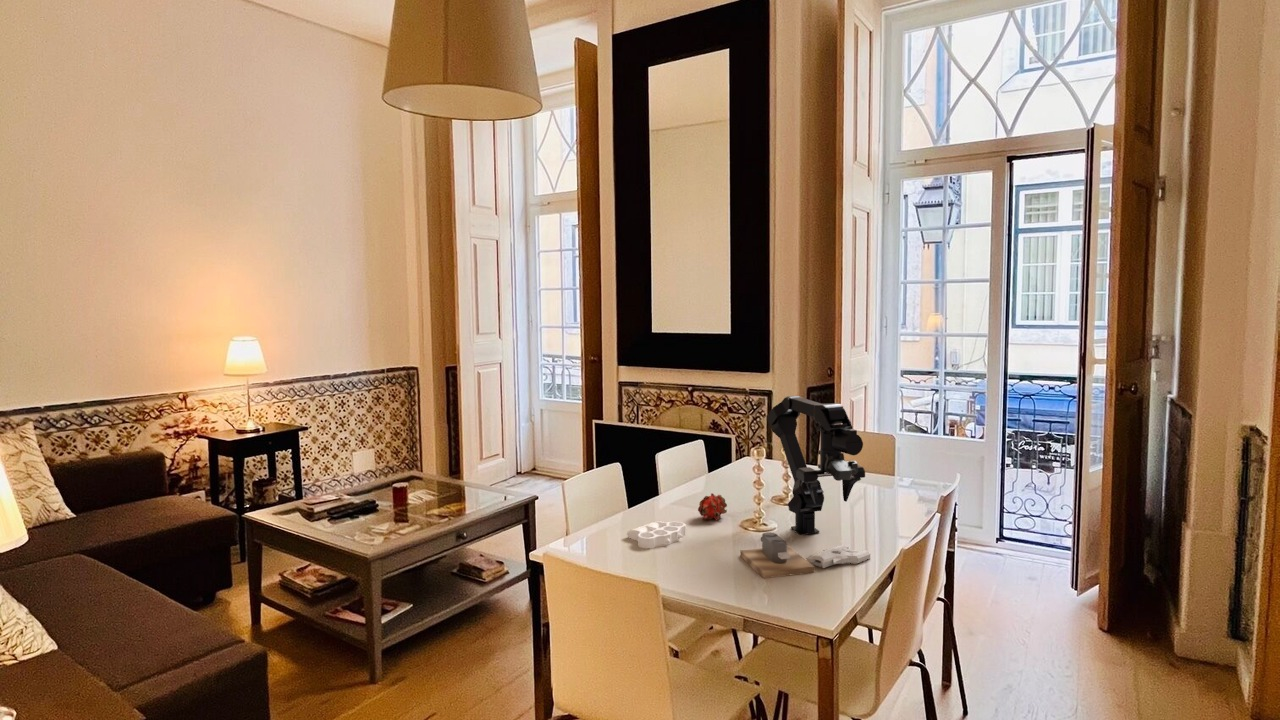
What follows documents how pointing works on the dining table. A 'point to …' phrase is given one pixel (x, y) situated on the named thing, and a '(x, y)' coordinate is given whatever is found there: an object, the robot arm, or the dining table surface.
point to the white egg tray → (658, 533)
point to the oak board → (771, 569)
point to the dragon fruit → (712, 507)
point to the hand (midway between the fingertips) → (830, 502)
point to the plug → (774, 548)
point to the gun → (838, 556)
